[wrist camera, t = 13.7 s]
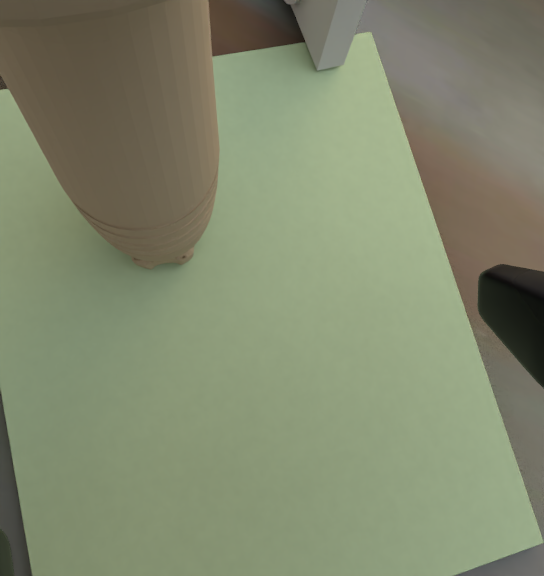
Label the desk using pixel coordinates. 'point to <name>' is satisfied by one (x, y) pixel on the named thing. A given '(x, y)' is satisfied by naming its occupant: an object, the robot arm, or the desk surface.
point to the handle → (121, 113)
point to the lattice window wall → (328, 28)
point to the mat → (255, 357)
